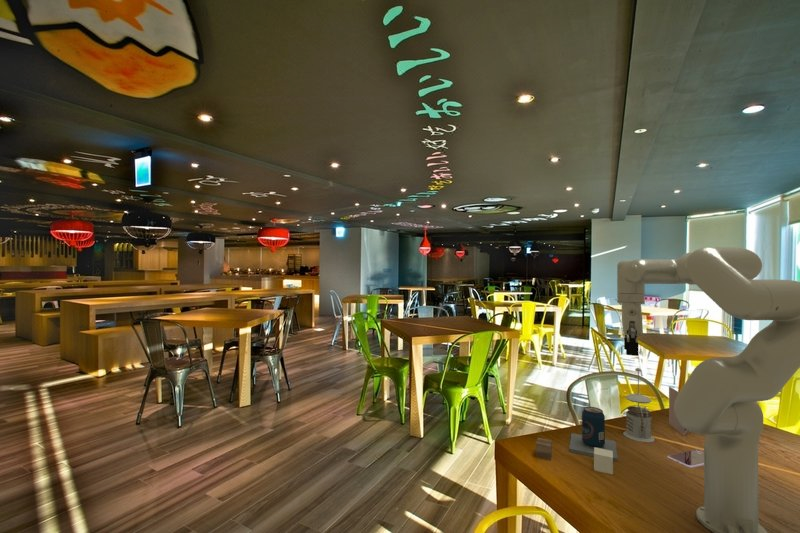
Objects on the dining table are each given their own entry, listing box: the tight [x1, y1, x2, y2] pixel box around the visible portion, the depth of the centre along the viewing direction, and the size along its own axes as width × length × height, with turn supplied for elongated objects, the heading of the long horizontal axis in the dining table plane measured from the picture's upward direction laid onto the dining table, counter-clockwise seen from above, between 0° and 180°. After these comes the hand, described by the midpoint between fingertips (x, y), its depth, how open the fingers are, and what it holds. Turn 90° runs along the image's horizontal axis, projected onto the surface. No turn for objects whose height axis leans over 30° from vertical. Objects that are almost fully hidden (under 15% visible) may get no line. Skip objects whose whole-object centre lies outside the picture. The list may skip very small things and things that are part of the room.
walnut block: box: [535, 437, 553, 461], centre depth 122 cm, size 4×4×4 cm
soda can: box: [581, 406, 606, 448], centre depth 128 cm, size 7×7×12 cm
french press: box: [623, 367, 656, 443], centre depth 137 cm, size 10×12×25 cm
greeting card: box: [668, 386, 689, 436], centre depth 144 cm, size 11×7×15 cm, turn 132°
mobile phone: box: [667, 449, 704, 469], centre depth 121 cm, size 8×1×15 cm
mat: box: [568, 432, 618, 462], centre depth 128 cm, size 14×14×1 cm
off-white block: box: [593, 447, 614, 475], centre depth 114 cm, size 5×5×5 cm
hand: (631, 352), depth 120 cm, fingers open, 9 cm apart
